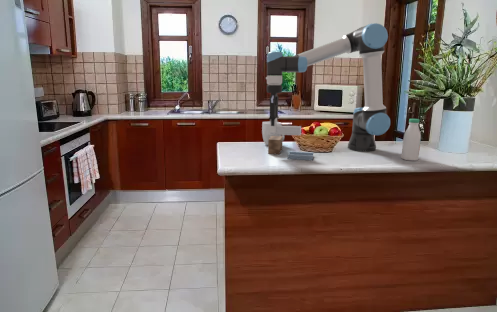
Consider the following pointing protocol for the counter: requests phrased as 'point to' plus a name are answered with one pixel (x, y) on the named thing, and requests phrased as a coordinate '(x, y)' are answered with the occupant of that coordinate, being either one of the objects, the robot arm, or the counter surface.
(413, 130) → the milk bottle
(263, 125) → the mug
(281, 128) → the shaft
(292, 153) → the cradle
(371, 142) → the robot arm
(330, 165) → the counter surface
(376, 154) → the counter surface
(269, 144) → the bearing block
